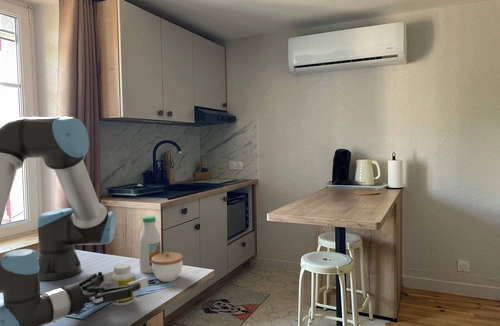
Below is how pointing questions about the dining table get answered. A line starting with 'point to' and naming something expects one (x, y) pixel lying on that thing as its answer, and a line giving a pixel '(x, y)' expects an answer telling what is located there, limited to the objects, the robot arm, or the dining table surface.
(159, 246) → the milk bottle
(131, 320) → the dining table surface
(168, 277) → the lidded jar
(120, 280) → the pill bottle
